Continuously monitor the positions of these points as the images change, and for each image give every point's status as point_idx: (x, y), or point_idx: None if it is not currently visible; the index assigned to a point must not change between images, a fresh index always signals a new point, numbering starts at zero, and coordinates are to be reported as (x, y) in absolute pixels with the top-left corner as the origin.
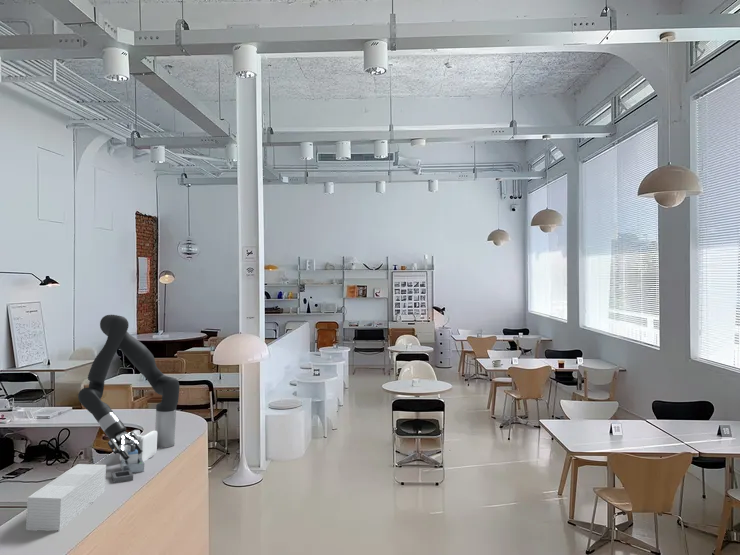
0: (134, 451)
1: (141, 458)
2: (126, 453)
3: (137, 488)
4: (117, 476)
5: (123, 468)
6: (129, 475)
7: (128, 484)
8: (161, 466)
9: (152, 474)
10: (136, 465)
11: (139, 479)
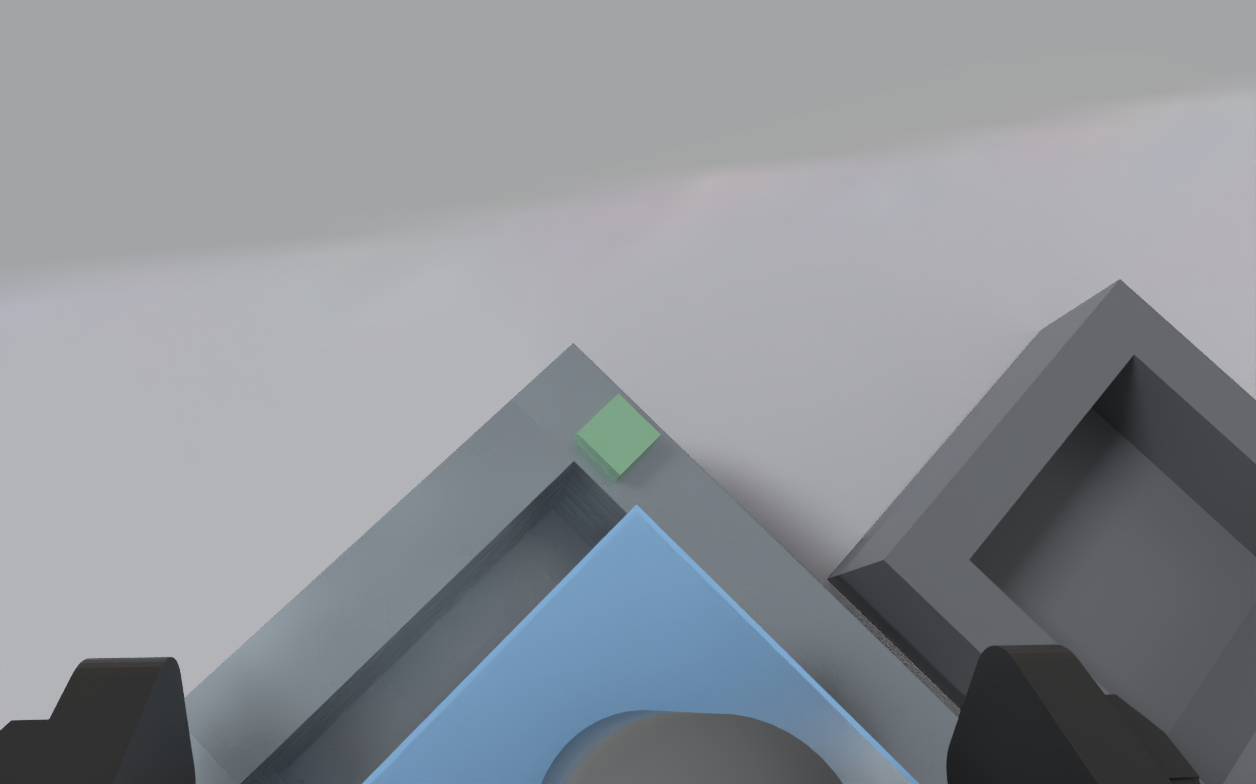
0: (676, 689)
1: None
2: (1149, 780)
3: (1212, 95)
4: None
5: None
6: (1161, 349)
7: None
8: (9, 296)
9: (565, 208)
10: (725, 501)
11: (894, 289)
